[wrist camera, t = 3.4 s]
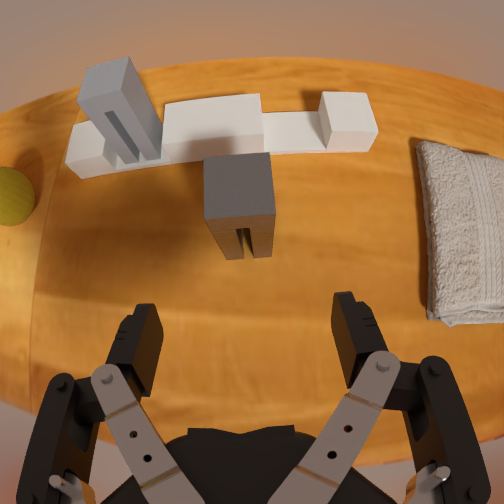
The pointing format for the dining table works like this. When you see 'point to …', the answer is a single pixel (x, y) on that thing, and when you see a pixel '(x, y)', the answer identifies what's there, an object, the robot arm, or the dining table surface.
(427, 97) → the dining table surface
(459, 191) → the washcloth
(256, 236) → the grey slotted block
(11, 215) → the lemon
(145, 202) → the dining table surface
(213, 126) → the rail
